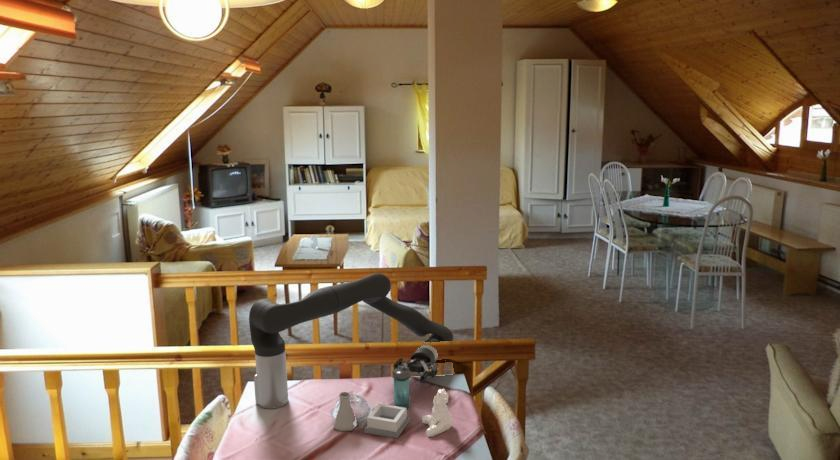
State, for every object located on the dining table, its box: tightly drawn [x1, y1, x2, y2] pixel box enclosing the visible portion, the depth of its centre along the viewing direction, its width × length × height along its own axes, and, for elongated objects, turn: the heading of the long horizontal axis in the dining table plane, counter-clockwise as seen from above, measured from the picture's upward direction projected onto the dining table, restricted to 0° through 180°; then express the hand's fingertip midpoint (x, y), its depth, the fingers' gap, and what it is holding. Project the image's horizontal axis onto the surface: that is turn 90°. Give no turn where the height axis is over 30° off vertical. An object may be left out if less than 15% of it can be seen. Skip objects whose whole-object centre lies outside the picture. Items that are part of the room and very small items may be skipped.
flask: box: [333, 391, 356, 432], centre depth 184 cm, size 7×7×10 cm
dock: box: [364, 403, 410, 439], centre depth 183 cm, size 10×10×4 cm
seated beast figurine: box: [421, 387, 454, 438], centre depth 182 cm, size 10×9×12 cm
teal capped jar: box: [391, 368, 412, 411], centre depth 193 cm, size 6×6×12 cm
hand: (408, 377), depth 199 cm, fingers open, 8 cm apart
